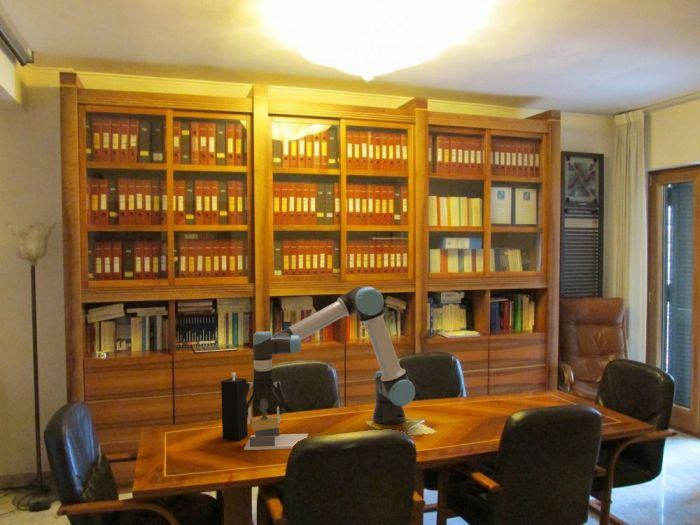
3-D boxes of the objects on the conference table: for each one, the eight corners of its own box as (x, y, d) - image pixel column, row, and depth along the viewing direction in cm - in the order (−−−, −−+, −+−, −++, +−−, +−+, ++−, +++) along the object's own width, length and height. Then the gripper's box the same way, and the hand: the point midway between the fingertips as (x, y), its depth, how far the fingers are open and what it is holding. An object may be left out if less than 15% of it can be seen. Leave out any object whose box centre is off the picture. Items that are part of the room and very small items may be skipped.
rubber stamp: (274, 424, 229) (273, 395, 230) (278, 428, 224) (277, 398, 224) (250, 427, 225) (250, 398, 225) (254, 431, 220) (253, 401, 220)
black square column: (248, 435, 235) (246, 370, 235) (238, 441, 228) (236, 374, 228) (232, 434, 238) (230, 370, 238) (222, 440, 230) (220, 373, 231)
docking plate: (307, 436, 233) (307, 425, 233) (304, 448, 217) (304, 436, 217) (251, 437, 233) (251, 426, 233) (244, 450, 217) (244, 438, 217)
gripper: (292, 367, 229) (293, 419, 228) (236, 368, 229) (237, 420, 228) (290, 370, 221) (292, 424, 221) (232, 371, 221) (233, 426, 221)
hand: (264, 422), depth 225 cm, fingers closed on rubber stamp, 11 cm apart
